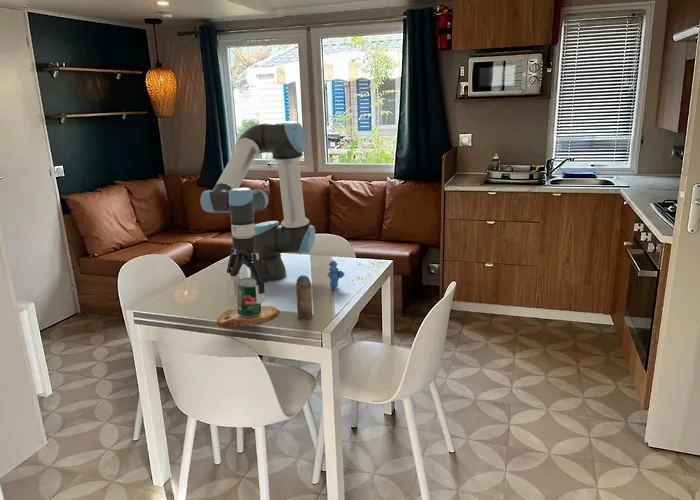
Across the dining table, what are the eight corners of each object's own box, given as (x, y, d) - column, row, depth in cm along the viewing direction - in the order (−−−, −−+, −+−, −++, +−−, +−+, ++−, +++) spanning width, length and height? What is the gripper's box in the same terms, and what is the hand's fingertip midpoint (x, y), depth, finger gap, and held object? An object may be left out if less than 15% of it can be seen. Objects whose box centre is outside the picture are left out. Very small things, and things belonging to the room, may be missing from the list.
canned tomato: (248, 305, 194) (248, 275, 191) (265, 311, 190) (266, 281, 187) (232, 312, 188) (232, 282, 184) (249, 319, 184) (250, 288, 180)
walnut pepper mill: (294, 317, 190) (292, 275, 186) (306, 313, 193) (303, 272, 190) (304, 320, 186) (302, 278, 183) (315, 316, 190) (313, 275, 186)
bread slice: (283, 312, 197) (282, 302, 196) (262, 331, 180) (261, 320, 179) (237, 309, 202) (236, 299, 201) (212, 327, 185) (211, 316, 184)
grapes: (345, 293, 213) (344, 263, 210) (327, 294, 213) (326, 263, 210) (345, 284, 224) (344, 255, 221) (328, 285, 224) (326, 256, 221)
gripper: (213, 233, 188) (218, 293, 193) (256, 243, 170) (261, 309, 175) (232, 229, 193) (237, 288, 198) (276, 239, 175) (280, 303, 181)
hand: (248, 298), depth 187 cm, fingers open, 13 cm apart
